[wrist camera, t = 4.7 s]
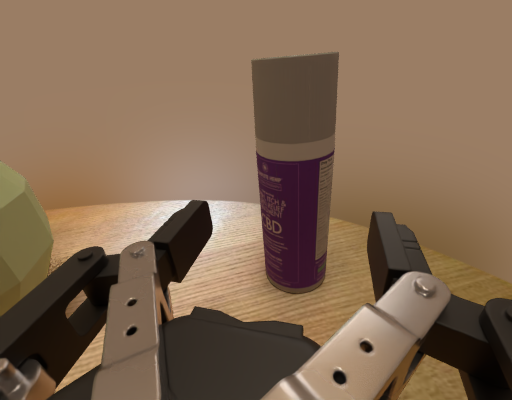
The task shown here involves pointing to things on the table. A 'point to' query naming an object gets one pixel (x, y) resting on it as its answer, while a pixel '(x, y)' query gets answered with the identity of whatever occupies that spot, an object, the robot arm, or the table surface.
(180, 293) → the table surface
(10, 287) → the decorative sphere
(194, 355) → the robot arm
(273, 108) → the container
